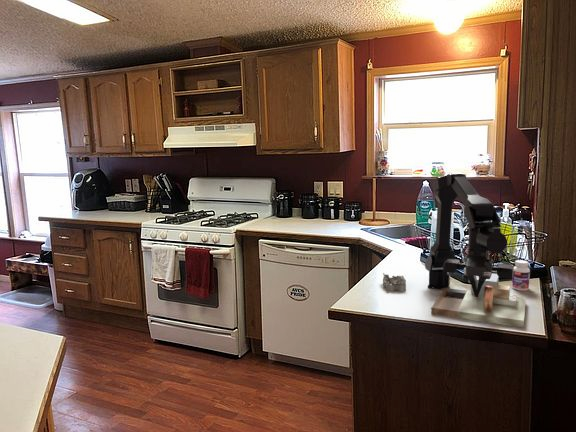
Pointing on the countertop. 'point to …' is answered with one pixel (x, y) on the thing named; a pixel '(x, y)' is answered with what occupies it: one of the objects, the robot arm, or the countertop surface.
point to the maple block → (501, 291)
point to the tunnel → (487, 283)
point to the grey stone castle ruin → (394, 282)
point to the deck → (478, 308)
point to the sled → (495, 299)
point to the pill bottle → (521, 276)
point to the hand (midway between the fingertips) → (476, 296)
